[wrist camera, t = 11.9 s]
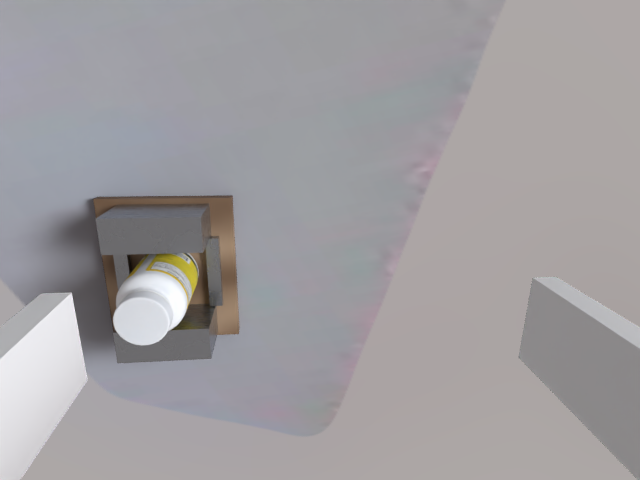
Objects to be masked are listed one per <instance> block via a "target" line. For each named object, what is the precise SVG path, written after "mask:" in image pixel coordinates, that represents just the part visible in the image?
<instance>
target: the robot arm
mask: <svg viewBox="0 0 640 480" xmlns="http://www.w3.org/2000/svg"><path fill="white" fill-rule="evenodd" d="M519 358H520V359H521V360H522V361H523V362H524V363H525V365H526V366H528V368H529V369H530V370H531V371H532V372H533V373H534V374H535V375H536V376H537V377H539V379H540V380H541V381H542V382H543V383H544V384H545V385H546V386H547V387H548V388H549V389H550V390H551V391H552V392H553V393H554V394H555V395H556V396H557V397H558V398H559V399H560V400H561V401H562V403H563V404H564V405H565V406H566V407H567V408H568V409H569V410H571V412H572V413H573V414H574V415H575V416H576V417H577V418H578V419H579V420H580V421H581V422H582V423H583V424H584V425H585V426H586V427H587V428H588V429H589V430H590V431H591V432H592V433H593V434H594V435H595V436H596V437H597V438H598V439H599V440H600V442H602V444H603V445H604V446H605V447H607V449H608V450H609V451H610V452H611V453H612V454H613V455H614V456H615V457H616V458H617V459H618V460H619V461H620V462H621V463H622V464H623V465H624V466H625V467H626V468H627V469H628V470H629V471H630V472H631V473H632V474H633V475H634V476H635V477H636V478H637V480H640V327H638V326H637V325H635V324H633V323H632V322H630V321H628V320H627V319H625V318H623V317H622V316H620V315H619V314H617V313H615V312H614V311H612V310H610V309H609V308H607V307H605V306H604V305H602V304H600V303H599V302H597V301H595V300H594V299H592V298H591V297H589V296H587V295H586V294H584V293H582V292H581V291H579V290H577V289H576V288H574V287H572V286H571V285H569V284H567V283H566V282H564V281H562V280H561V279H559V278H558V277H538V278H533V279H532V284H531V290H530V296H529V301H528V307H527V313H526V318H525V324H524V330H523V335H522V341H521V347H520V352H519ZM86 382H87V374H86V369H85V363H84V358H83V352H82V347H81V341H80V336H79V330H78V325H77V319H76V314H75V308H74V303H73V297H72V292H70V293H41V294H40V295H39V296H38V297H36V298H35V299H34V300H33V301H31V302H30V303H29V304H28V305H26V306H25V307H24V308H23V309H22V310H20V311H19V312H18V313H17V314H16V315H14V316H13V317H12V318H11V319H9V320H8V321H7V322H6V323H4V324H3V325H2V326H1V327H0V480H21V478H22V477H23V475H24V474H25V472H26V470H27V469H28V468H29V466H30V465H31V463H32V462H33V460H34V459H35V457H36V456H37V454H38V453H39V451H40V450H41V448H42V447H43V446H44V444H45V443H46V441H47V439H48V438H49V437H50V435H51V434H52V432H53V431H54V429H55V428H56V426H57V425H58V423H59V422H60V420H61V419H62V417H63V416H64V414H65V413H66V411H67V410H68V408H69V407H70V405H71V404H72V402H73V401H74V399H75V398H76V396H77V395H78V394H79V392H80V391H81V389H82V388H83V386H84V384H85V383H86Z"/></svg>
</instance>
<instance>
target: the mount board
mask: <svg viewBox="0 0 640 480" xmlns="http://www.w3.org/2000/svg"><path fill="white" fill-rule="evenodd" d="M93 201H94V207H95V214H96V218H97V217H99V216H101V215H102V214H104V213H105V212H107V211H108V210H110V209H112V208H113V207H115V206H116V205H122V204H207V203H209V205H210V219H211V234H212V235H211V236H219V239H220V255H221V270H222V286H223V306H217V321H218V333H217V335H224V334H239V312H238V293H237V274H236V254H235V235H234V216H233V196H143V197H97V198H95V199H93ZM189 254H190V255H191V256H192V257H193V258H194V260H195V261H196V263H197V266H198V270H199V277H198V282H197V285H196V287H195V290H194V293H193V295H192V298H191V300H190V303H189V304H208V303H210V301H209V288H208V274H207V261H206V248H205V250H204V252H203V253H189ZM145 255H146V254H130V257H131V265H132V271H133V270H134V269H135V267H136V266H137V265H138V264H139V262H140V261H141V260H142V259H143V257H144V256H145ZM102 260H103V266H104V273H105V279H106V286H107V292H108V299H109V305H110V312H111V318H112V325H113V331H114V330H115V328H114V324H113V315H114V312H115V310H116V297H117V293H118V286H117V279H116V272H115V265H114V258H113V255H102Z"/></svg>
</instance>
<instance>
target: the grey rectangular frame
mask: <svg viewBox="0 0 640 480" xmlns="http://www.w3.org/2000/svg"><path fill="white" fill-rule="evenodd" d="M95 220H96V226H97V233H98V239H99V246H100V252H101V255H113V258H114V265H115V272H116V279H117V286H118V291H119V289H120V287H121V285H122V284H123V282H124V281H125V280H126V279H127V277H128V276H129V275H130V274H131V272H132V265H131V257H130V254H171V253H203V252H204V250H205V248H206V261H207V274H208V288H209V301H210V303H208V304H189V305H188V308H187V311H186V313H185V315H184V317H183V319H182V320H181V322H180V323H179V324H178V325H177V326H176V327H174V328H173V329H171V330H169V331H168V332H167V334H166V335H165V336H164V337H163V338H162V339H161V340H160V341H158V342H156V343H154V344H150V345H135V344H132V343H129V342H127V341H126V340H124V339H123V338H121V337H120V336H119V334H118V333H117V332H116V330H114V332H113V337H114V343H115V350H116V356H117V363H133V362H153V361H173V360H194V359H211V358H212V354H213V350H214V345H215V341H216V337H217V333H218V321H217V306H223V286H222V270H221V255H220V239H219V236H211V235H212V234H211V219H210V205H209V203H207V204H122V205H116V206H115V207H113V208H112V209H110V210H108V211H107V212H105V213H104V214H102V215H101V216H99V217H97V218H96V219H95Z"/></svg>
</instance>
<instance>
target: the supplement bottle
mask: <svg viewBox="0 0 640 480" xmlns="http://www.w3.org/2000/svg"><path fill="white" fill-rule="evenodd" d="M198 277H199V270H198V266H197V263H196V261H195V260H194V258H193V257H192V256H191V255H190V254H189V253H171V254H146V255H145V256H144V257H143V259H142V260H141V261H140V262H139V264H138V265H137V266H136V267H135V269H134V270H133V271H132V272H131V274H130V275H129V276H128V277H127V279H126V280H125V281H124V282H123V284H122V285H121V287H120V289H119V291H118V293H117V297H116V310H115V312H114V315H113V324H114V328H115V330H116V332H117V333H118V334H119V336H120V337H121V338H123V339H124V340H126V341H127V342H129V343H132V344H135V345H150V344H154V343H156V342H158V341H160V340H161V339H162V338H163V337H164V336H165V335H166V334H167V332H168V331H169V330H171V329H173V328H174V327H176V326H177V325H178V324H179V323H180V322H181V320H182V319H183V317H184V315H185V313H186V311H187V308H188V305H189V303H190V300H191V298H192V295H193V293H194V290H195V287H196V285H197V282H198Z"/></svg>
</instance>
